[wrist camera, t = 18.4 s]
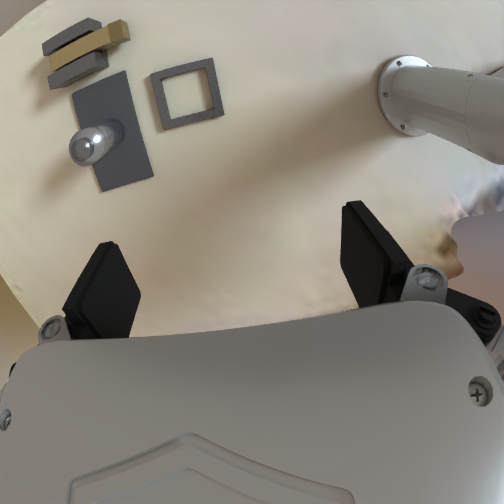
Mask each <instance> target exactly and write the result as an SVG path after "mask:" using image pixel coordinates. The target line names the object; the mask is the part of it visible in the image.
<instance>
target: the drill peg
mask: <svg viewBox="0 0 504 504" xmlns="http://www.w3.org/2000/svg"><path fill="white" fill-rule="evenodd" d="M124 135H125V130H124V126H123V125H122V123H121V122H120V121H119V120H117V119H113V118H110V119H106V120H104V121H102V122H99V123H97V124H94V125H92V126H90V127H87V128H85V129H83V130H81V131H79V132H77V133H76V134H75V135H74V136H73V137H72V139H71V141H70V144H69V152H70V156H71V158H72V159H73V161H74V162H75V163H77V164H78V165H81V166H89V165H92V164H93V163H95V162H96V161H97V160H99V159H100V158H101V157H103V156H104V155H105V154H107V153H108V152H109V151H111V150H112V149H114V148H115V147H116V146H118V145H119V144H120V143H121V142H122V141H123V139H124Z"/></svg>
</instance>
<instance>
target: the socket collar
mask: <svg viewBox="0 0 504 504" xmlns="http://www.w3.org/2000/svg"><path fill="white" fill-rule="evenodd" d="M205 67H206V71H207V76H208V80H209V85H210V90H211V95H212V100H213V104H214V109H211V110H207V111H202V112H198V113H194V114H190V115H186V116H182V117H178V118H175V119H171V118H170V114H169V110H168V106H167V102H166V98H165V93H164V89H163V85H162V80H161V79H163V78H166V77H170V76H173V75H177V74H180V73H184V72H188V71H192V70H196V69H201V68H205ZM150 75H151V79H152V84H153V88H154V92H155V96H156V100H157V105H158V109H159V113H160V117H161V121H162V124H163V128H164V130H165V129H169V128H173V127H176V126H180V125H184V124H188V123H192V122H196V121H200V120H205V119H209V118H213V117H218V116H223V115H224V111H223V106H222V101H221V96H220V91H219V86H218V81H217V77H216V72H215V67H214V62H213V58H209V59H204V60H200V61H195V62H191V63H187V64H183V65H180V66H176V67H172V68H169V69H165V70H162V71H159V72H155V73H152V74H150Z"/></svg>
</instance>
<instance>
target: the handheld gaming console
mask: <svg viewBox="0 0 504 504" xmlns="http://www.w3.org/2000/svg"><path fill="white" fill-rule="evenodd" d="M490 76H494V77H498V78H502V79H504V67H503V68H501V69H500V70H498V71H497V72H495V73H493V74H492V75H490Z"/></svg>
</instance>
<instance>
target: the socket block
mask: <svg viewBox="0 0 504 504" xmlns="http://www.w3.org/2000/svg"><path fill="white" fill-rule="evenodd" d="M101 28H102V26H101V22H98V21H96V20H93V19H91V18H86V19H84V20H82V21H80V22H78V23H77V24H75V25H73V26H71V27H69V28H67V29H66V30H64V31H62V32H60V33H59V34H57V35H55V36H54V37H52V38H50V39H49V40H47V41H46V42H44V43H43V44H42V49H43V55H44V56H50V55H52V54H53V53H55V52H57V51H58V50H60V49H62V48H64V47H65V46H67V45H69V44H71V43H73V42H74V41H76V40H78V39H80V38H82V37H84V36H86V35H88V34H90V33H92V32H94V31H97V30H99V29H101ZM106 67H109V63H108V58H107V53H106V49H105V50H102V51H100V52H93V53H90V54H88V55H86V56H84V57H82V58H80V59H78V60H76V61H74V62H73V63H71V64H69V65H67V66H65V67H63V68H62V69H60V70H58V71H56V72H55V73H53V74H51V75H50V76H48V82H49V87H50V90H51V89H57V88H64V87H67V86H69V85H71V84H72V83H74V82H76V81H78V80H80V79H82V78H84V77H86V76H89V75H91V74H93V73H95V72H97V71H99V70H102V69H104V68H106Z"/></svg>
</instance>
